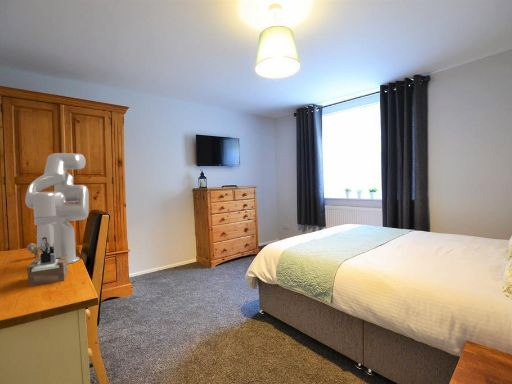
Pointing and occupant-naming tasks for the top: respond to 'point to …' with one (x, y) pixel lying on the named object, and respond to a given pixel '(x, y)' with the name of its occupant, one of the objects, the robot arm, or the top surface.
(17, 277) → the top surface
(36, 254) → the lion figurine
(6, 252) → the top surface
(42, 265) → the cover plate
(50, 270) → the slide box
